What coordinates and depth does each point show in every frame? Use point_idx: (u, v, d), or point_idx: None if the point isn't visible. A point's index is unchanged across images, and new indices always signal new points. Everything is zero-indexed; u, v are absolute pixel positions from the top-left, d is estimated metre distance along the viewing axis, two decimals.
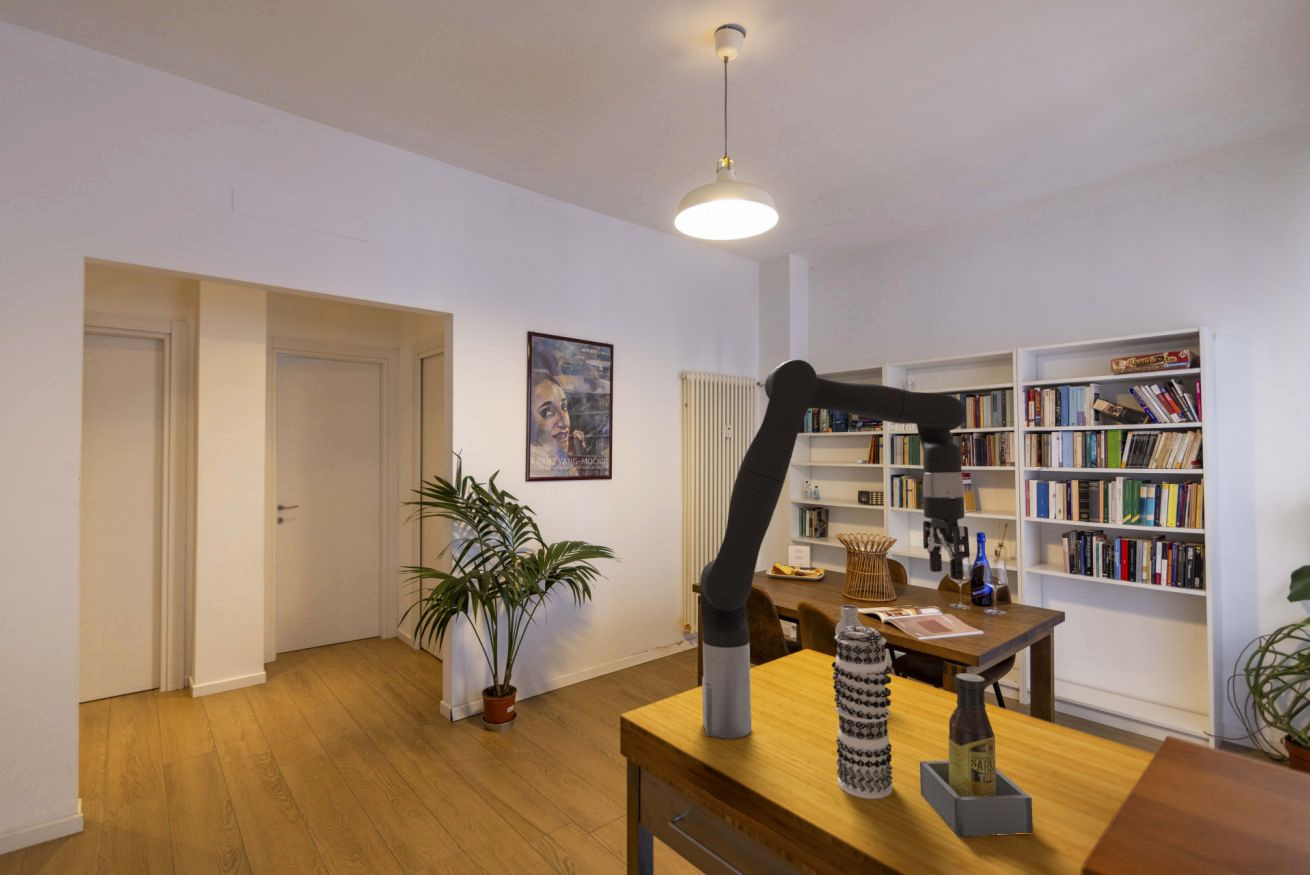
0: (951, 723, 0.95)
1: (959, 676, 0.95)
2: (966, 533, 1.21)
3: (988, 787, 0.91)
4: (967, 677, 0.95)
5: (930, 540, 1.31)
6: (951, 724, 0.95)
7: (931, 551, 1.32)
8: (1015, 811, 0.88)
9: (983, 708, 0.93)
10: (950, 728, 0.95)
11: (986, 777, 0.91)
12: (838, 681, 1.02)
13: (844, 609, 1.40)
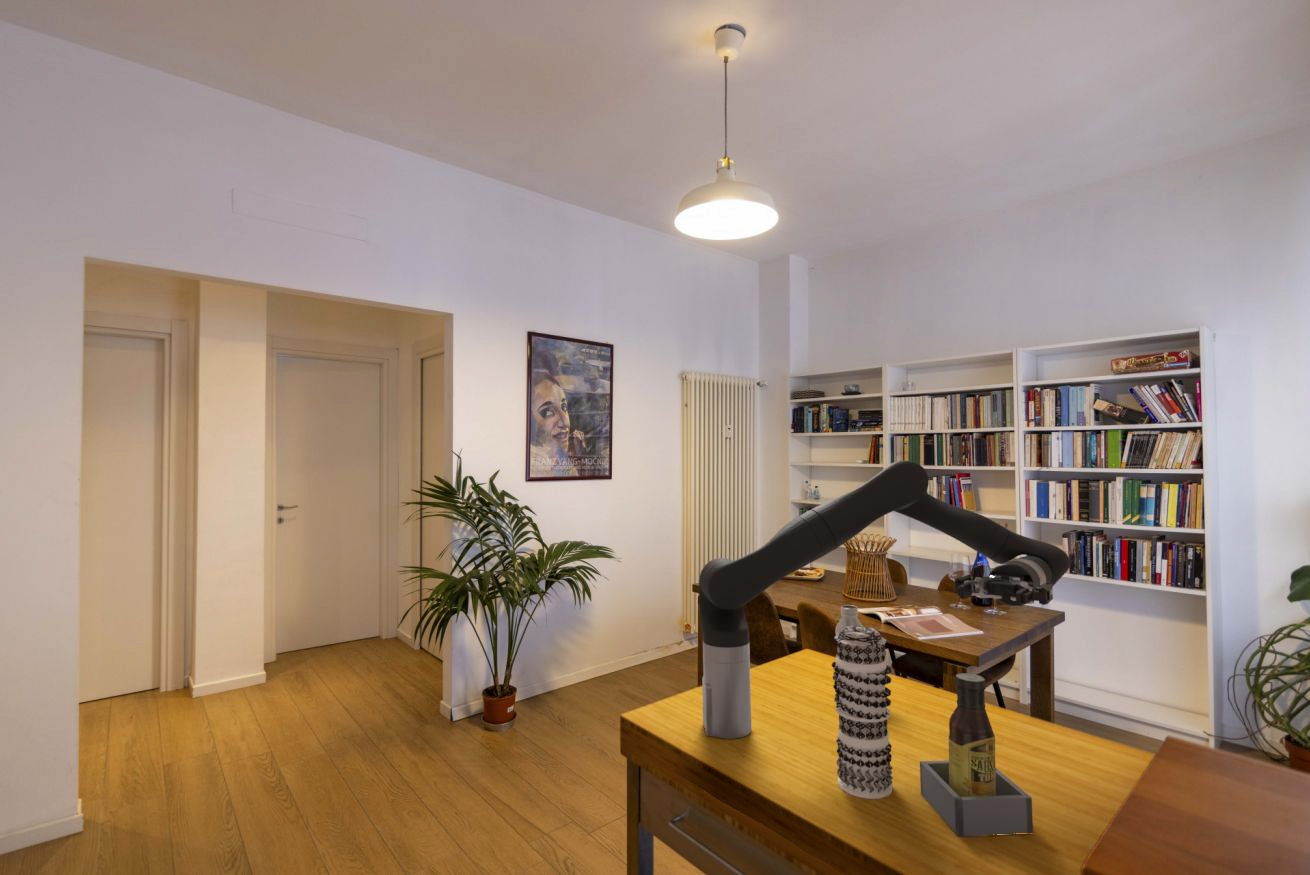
0: (951, 723, 0.95)
1: (959, 676, 0.95)
2: (1052, 597, 1.05)
3: (988, 787, 0.91)
4: (967, 677, 0.95)
5: (984, 577, 1.10)
6: (951, 724, 0.95)
7: (971, 583, 1.09)
8: (1015, 811, 0.88)
9: (983, 708, 0.93)
10: (950, 728, 0.95)
11: (986, 777, 0.91)
12: (838, 681, 1.02)
13: (844, 609, 1.40)
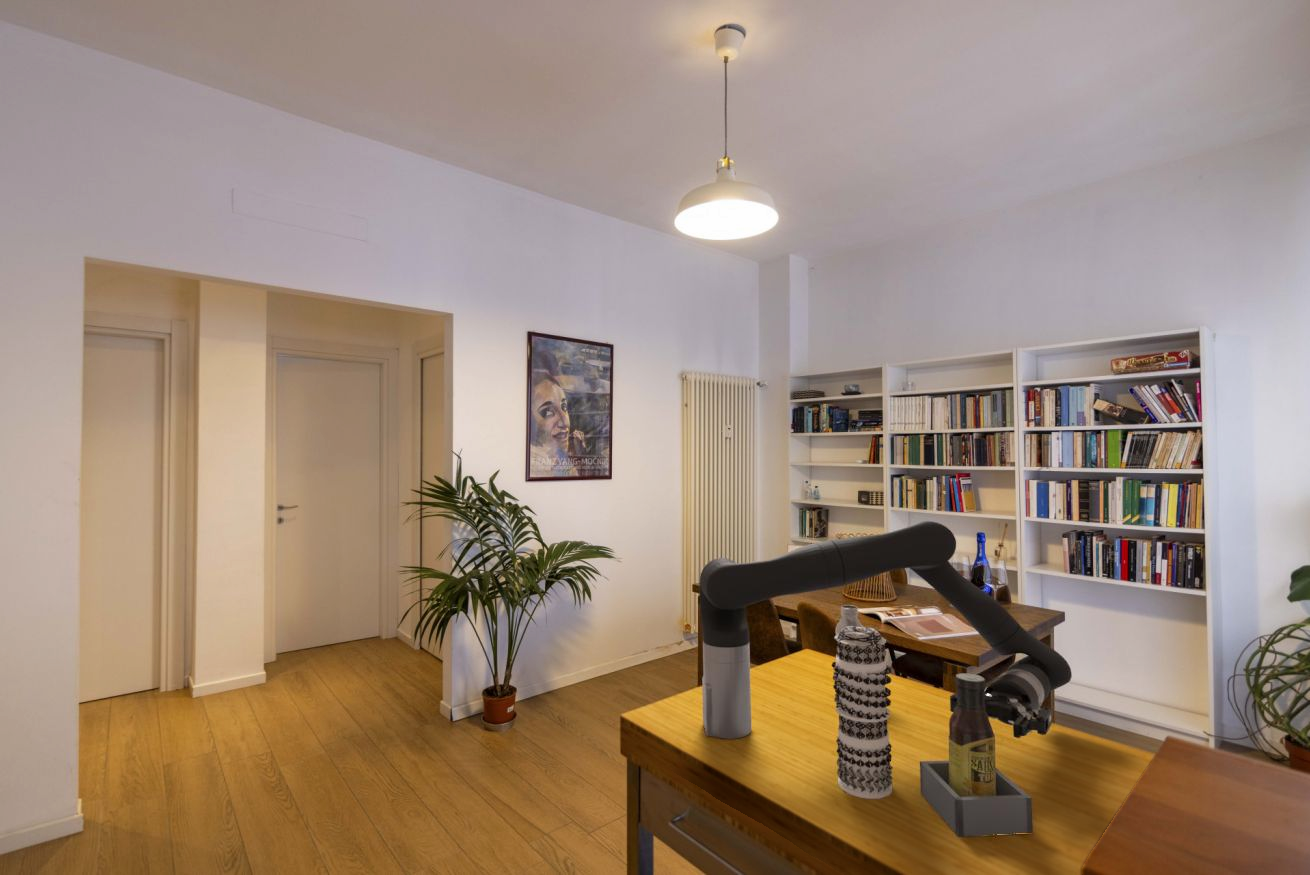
0: (951, 723, 0.95)
1: (959, 676, 0.95)
2: (1050, 723, 1.01)
3: (988, 787, 0.91)
4: (967, 677, 0.95)
5: None
6: (951, 724, 0.95)
7: None
8: (1015, 811, 0.88)
9: (983, 708, 0.93)
10: (950, 728, 0.95)
11: (986, 777, 0.91)
12: (838, 681, 1.02)
13: (844, 609, 1.40)
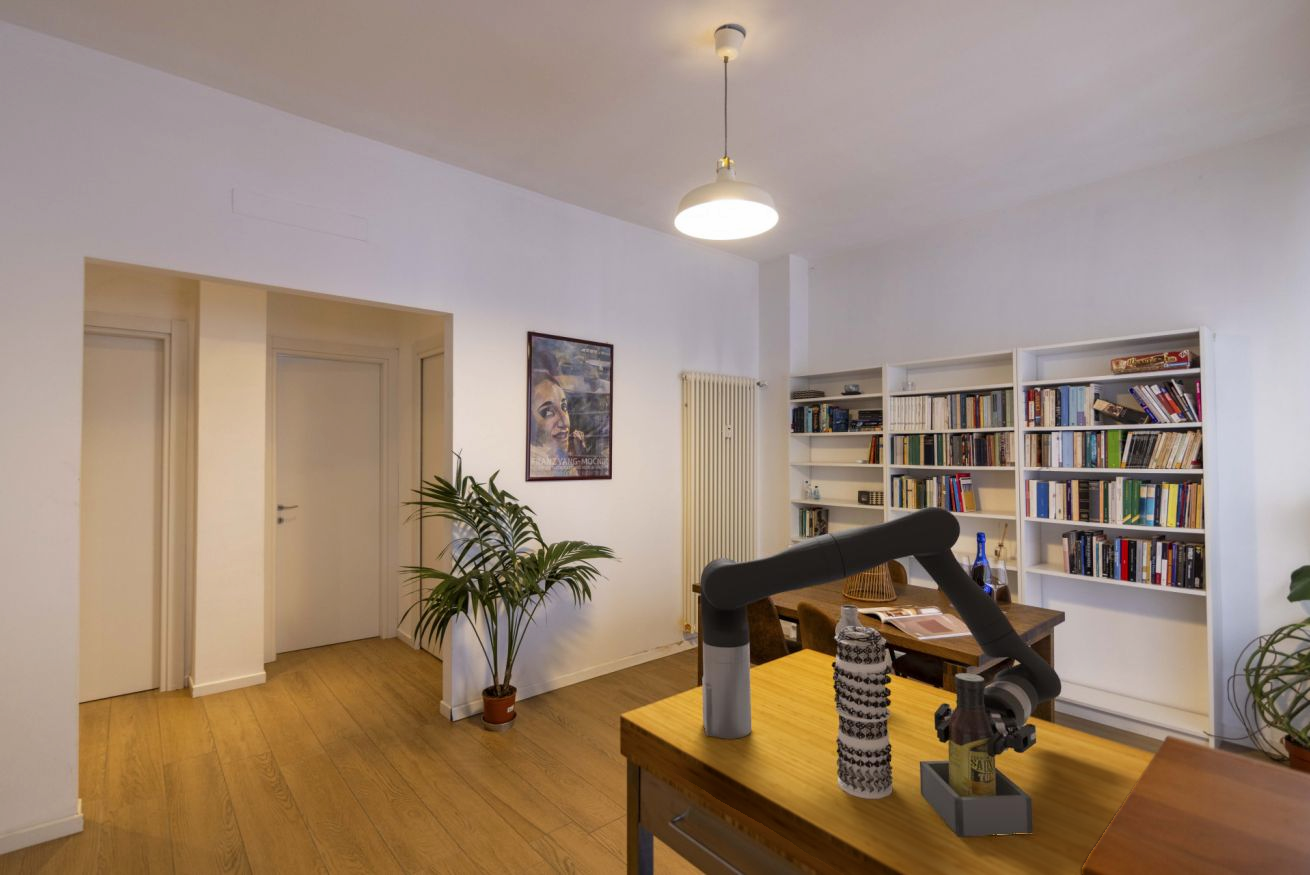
0: (951, 723, 0.95)
1: (958, 676, 0.95)
2: (1033, 742, 0.94)
3: (988, 787, 0.91)
4: (966, 677, 0.95)
5: None
6: (950, 724, 0.95)
7: None
8: (1015, 811, 0.88)
9: (983, 708, 0.93)
10: (950, 728, 0.95)
11: (986, 777, 0.91)
12: (838, 681, 1.02)
13: (844, 609, 1.40)
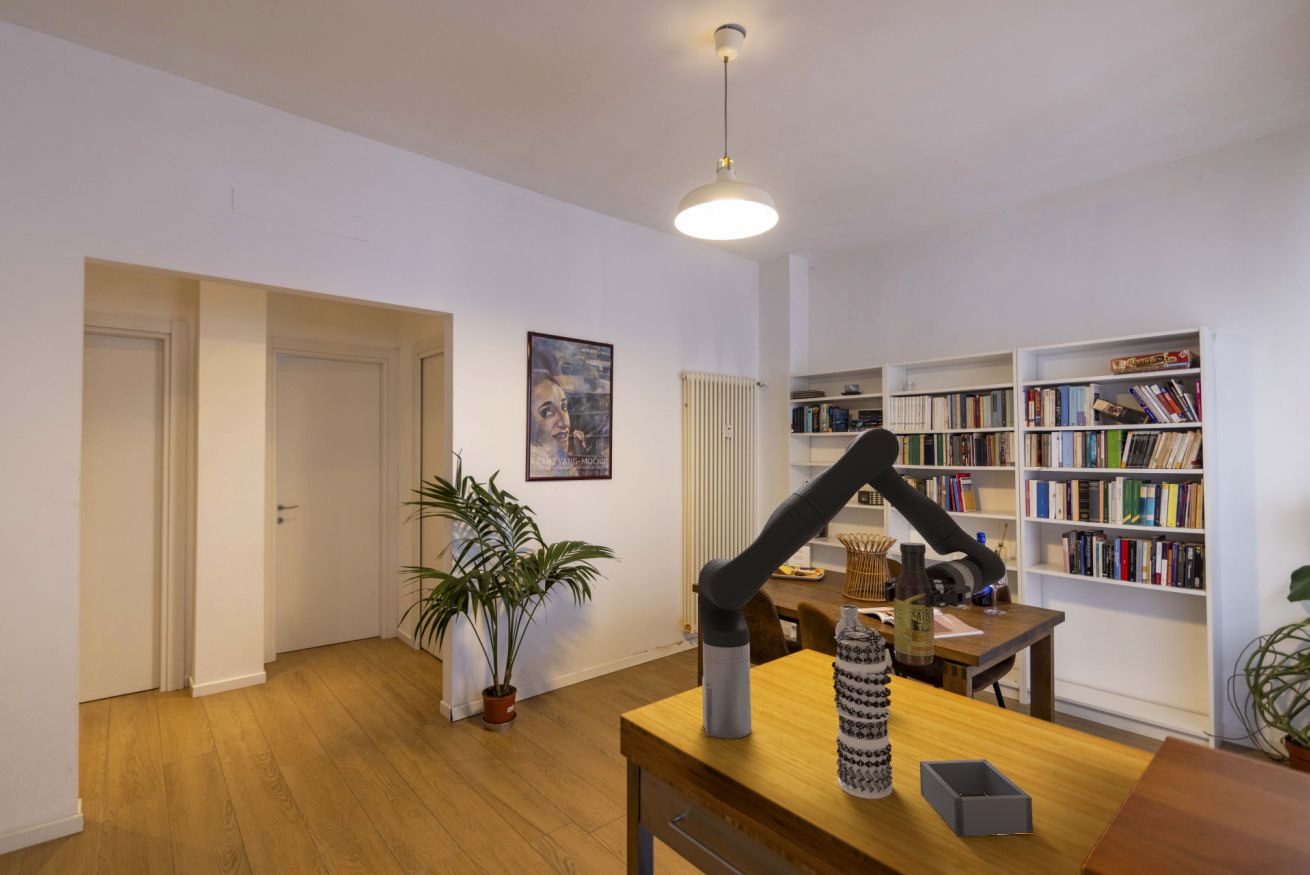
0: (895, 584, 1.07)
1: (903, 543, 1.08)
2: (968, 600, 1.07)
3: (926, 635, 1.04)
4: (909, 543, 1.07)
5: None
6: (895, 584, 1.07)
7: None
8: (1015, 811, 0.88)
9: (923, 568, 1.06)
10: (895, 588, 1.08)
11: (924, 626, 1.04)
12: (838, 681, 1.02)
13: (844, 609, 1.40)
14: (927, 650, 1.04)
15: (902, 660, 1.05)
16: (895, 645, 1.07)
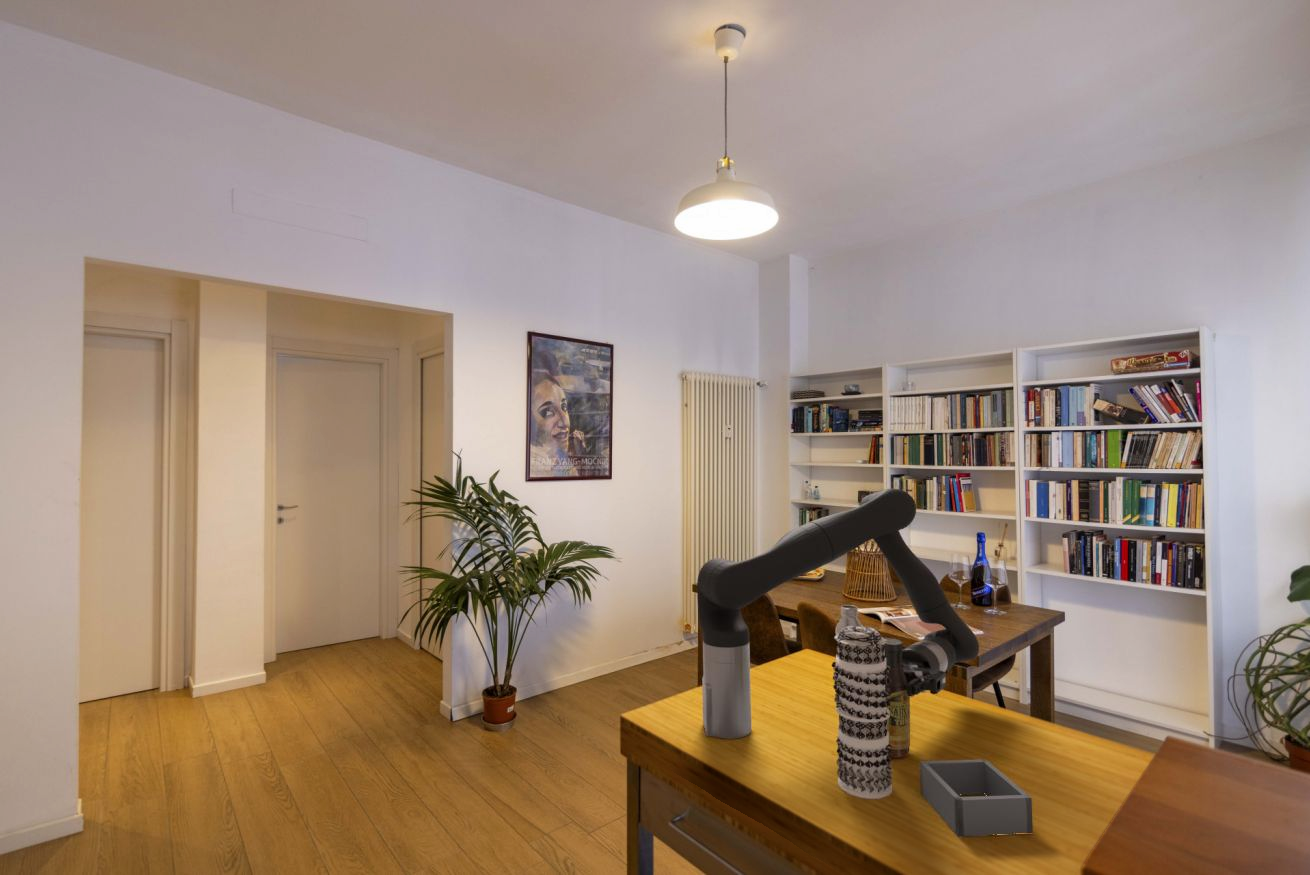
0: None
1: None
2: (944, 685, 1.15)
3: (902, 730, 1.11)
4: (888, 641, 1.14)
5: None
6: None
7: None
8: (1015, 811, 0.88)
9: (900, 666, 1.13)
10: None
11: (901, 722, 1.11)
12: (838, 681, 1.02)
13: (844, 609, 1.40)
14: (903, 744, 1.11)
15: None
16: None
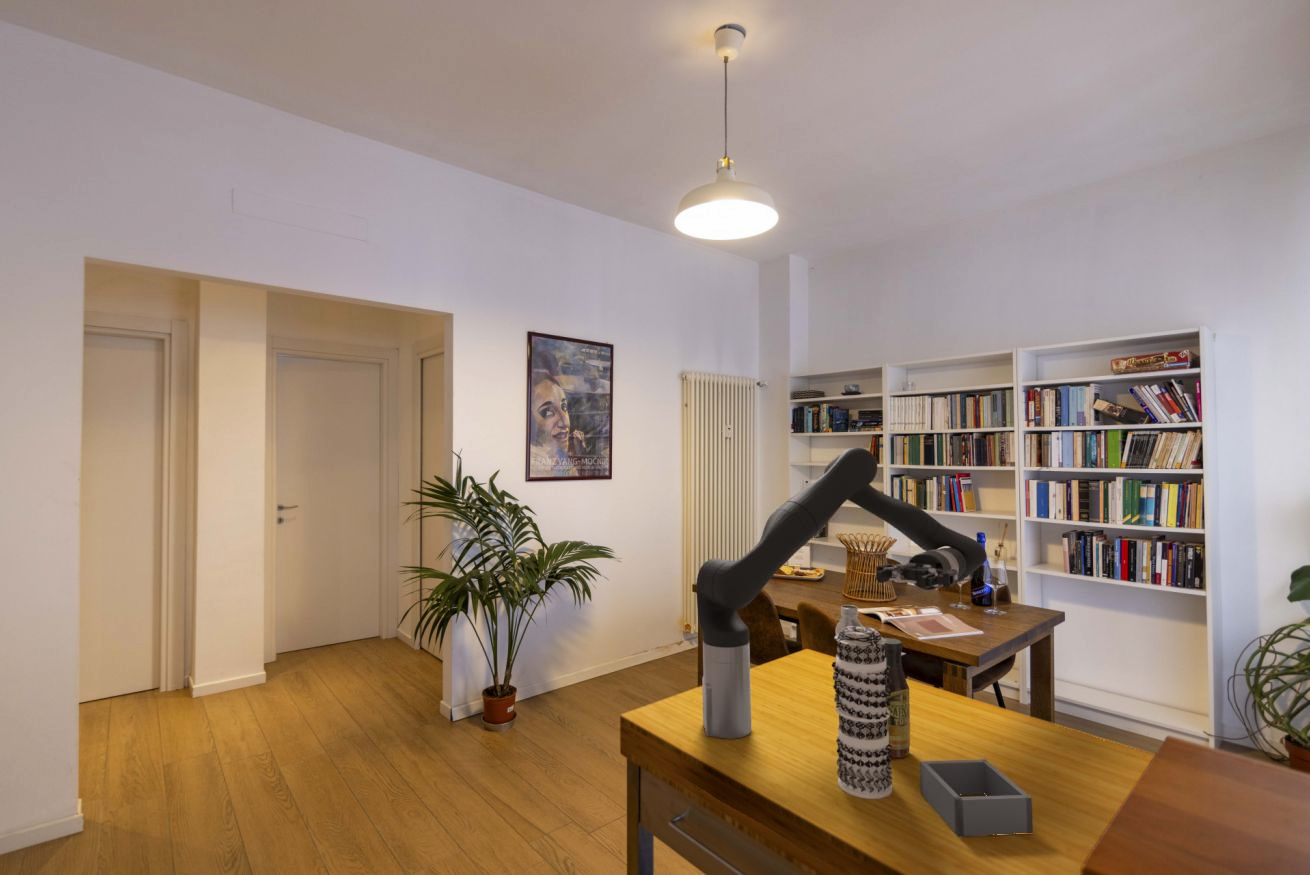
0: None
1: None
2: (956, 581, 1.21)
3: (902, 729, 1.11)
4: (887, 641, 1.15)
5: (901, 565, 1.26)
6: None
7: (889, 570, 1.25)
8: (1015, 811, 0.88)
9: (899, 666, 1.13)
10: None
11: (900, 722, 1.11)
12: (838, 681, 1.02)
13: (844, 609, 1.40)
14: (903, 744, 1.11)
15: None
16: None
